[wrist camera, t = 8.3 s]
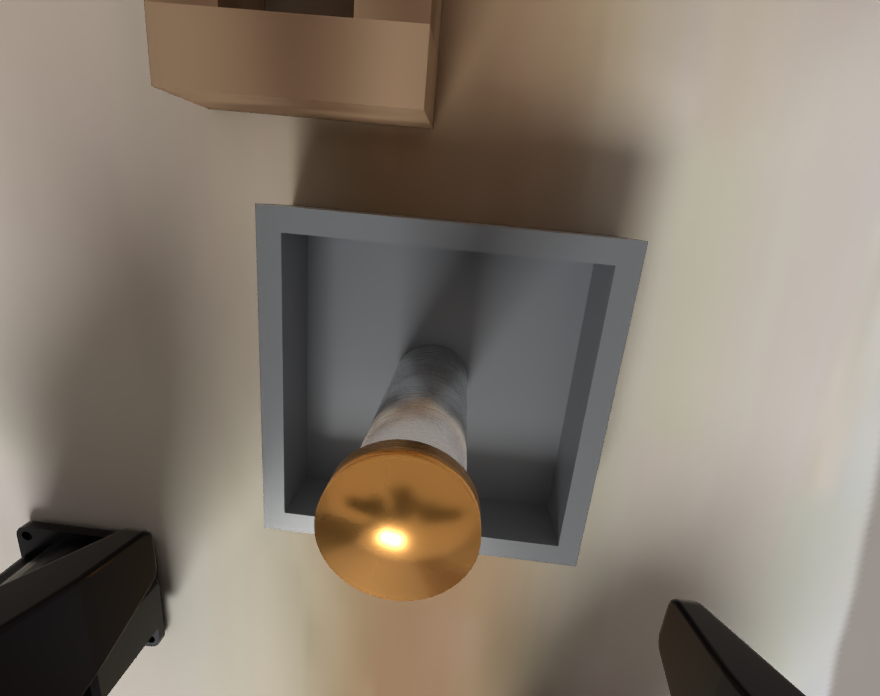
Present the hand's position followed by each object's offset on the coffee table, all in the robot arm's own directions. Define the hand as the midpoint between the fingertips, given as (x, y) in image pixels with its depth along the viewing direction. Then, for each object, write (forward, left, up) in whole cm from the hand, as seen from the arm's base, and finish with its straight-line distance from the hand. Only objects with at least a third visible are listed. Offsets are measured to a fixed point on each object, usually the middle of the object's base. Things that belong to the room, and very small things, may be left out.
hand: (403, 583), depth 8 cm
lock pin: (0, 0, -10) cm, 10 cm away
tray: (0, 0, -11) cm, 11 cm away
